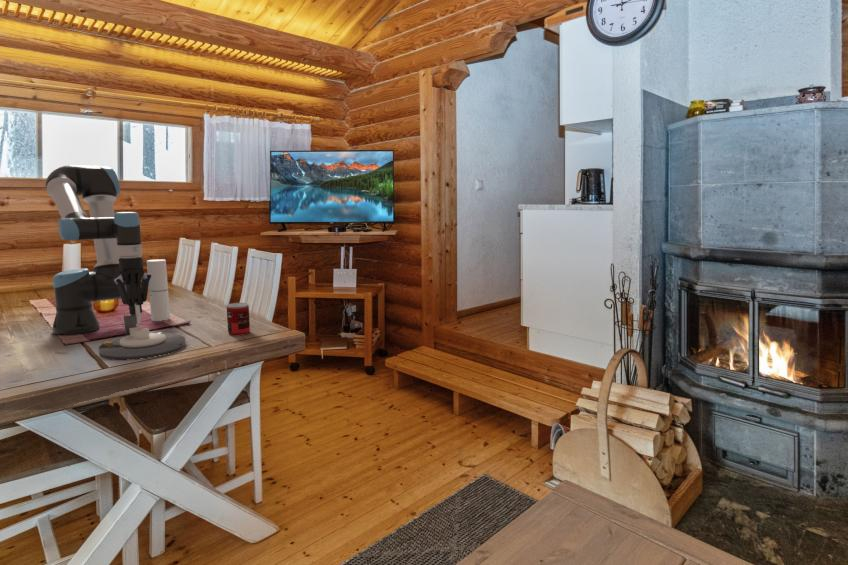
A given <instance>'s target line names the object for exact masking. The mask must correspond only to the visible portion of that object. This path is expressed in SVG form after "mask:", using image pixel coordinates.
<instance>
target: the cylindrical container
mask: <svg viewBox="0 0 848 565" xmlns="http://www.w3.org/2000/svg"><path fill="white" fill-rule="evenodd" d="M146 267H147V274H150V275H151V278H150V280H149V286H148V292H149V293H148V294H149V306H150V316H151V317H150V318H151V321H152V322H163V321H162V320H165V321H168V320H167V319H169V320H171V312H170V310H171V309H170V299H169V296H170V295H169V282H168V272H167V271H168V270H167V260H166V259H164V258H161V259H149V260H146Z"/></svg>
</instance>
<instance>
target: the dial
mask: <svg viewBox="0 0 848 565" xmlns="http://www.w3.org/2000/svg"><path fill="white" fill-rule="evenodd" d="M123 321H124V322H123V323H124V333H125V335H126V336H124V337H125V338H122V337H121V338H122V339H121V340H120V346H122V347H128V348H137V347H147V346H153V345H157V344H160V343H163V342H165V341H166V335H164V334H159V332H154V333H153V332H151V333H150V329H149V328H148V327H147V328H139V327H137V324H136V315H132V314H130V313H129V314H125V315H123ZM127 336H128V337H127Z"/></svg>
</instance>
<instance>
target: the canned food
mask: <svg viewBox="0 0 848 565" xmlns="http://www.w3.org/2000/svg"><path fill="white" fill-rule="evenodd" d="M226 319H227V320H226V321H227V333H228V334H229V336H243V335H242V334H245V335H248V334H250V332H251V328H250V325H251V324H250V306H249V303H247V302H234V303H233V302H232V303H228V304H227V305H226ZM247 333H248V334H247Z"/></svg>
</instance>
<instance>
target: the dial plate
mask: <svg viewBox="0 0 848 565" xmlns="http://www.w3.org/2000/svg"><path fill="white" fill-rule="evenodd" d="M158 333H159V334H164V335H166V341H165V342H163V343H160V344H157V345H153V346H147V347H137V348H128V347H122V346H120V340H121V339H122V338H125V337H128V336H129V335H126V336H124V337H117V338H114V339H111V340H107V341H104V342H103V343H102V344H101V345H99V346H98V353H99V356H100V357H101V358H103V359H106V358H107V359H108V360H113V359H115V361H128V360H127V359H135V360H141V359H140V358H145V359H149V358H148V357H152V358H155V357H154V356H157V357H160V356H159V355H162V356H165V355H164V354H166V355H169V354H168V353H170V354H173V353H176V352H178V351H180V350H182V349H184V348H185V347H186V344H187V343H186V337H185V336H184V335H182V334H178V333H171V332H161V331H159V332H158ZM175 351H176V352H175ZM172 352H173V353H172Z"/></svg>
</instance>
